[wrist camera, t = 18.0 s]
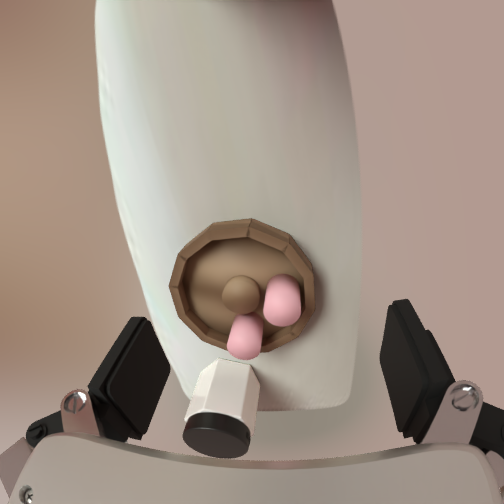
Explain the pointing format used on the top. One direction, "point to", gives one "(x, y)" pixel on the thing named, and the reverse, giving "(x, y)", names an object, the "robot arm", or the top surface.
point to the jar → (223, 410)
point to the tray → (238, 280)
